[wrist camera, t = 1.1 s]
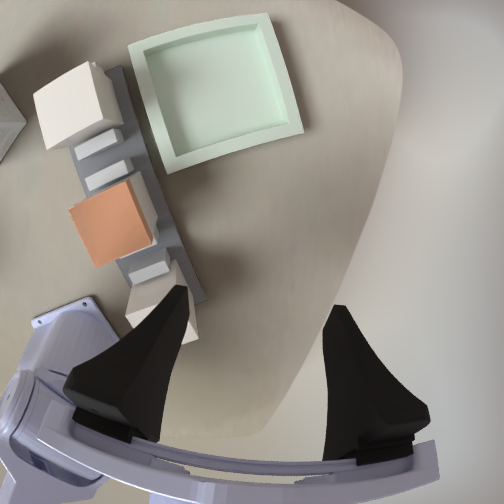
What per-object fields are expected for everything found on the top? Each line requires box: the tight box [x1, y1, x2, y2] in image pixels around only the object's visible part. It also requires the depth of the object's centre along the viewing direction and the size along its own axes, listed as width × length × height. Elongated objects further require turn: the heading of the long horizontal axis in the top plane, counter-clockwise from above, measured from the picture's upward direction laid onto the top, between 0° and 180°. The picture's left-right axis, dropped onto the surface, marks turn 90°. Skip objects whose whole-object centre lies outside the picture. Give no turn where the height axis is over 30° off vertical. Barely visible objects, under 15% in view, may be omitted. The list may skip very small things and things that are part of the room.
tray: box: [127, 13, 304, 175], centre depth 17 cm, size 11×11×2 cm
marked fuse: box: [68, 171, 158, 268], centre depth 17 cm, size 4×4×6 cm
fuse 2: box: [125, 259, 199, 345], centre depth 20 cm, size 4×4×6 cm
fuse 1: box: [33, 61, 124, 150], centre depth 13 cm, size 4×4×6 cm
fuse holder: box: [69, 62, 207, 305], centre depth 19 cm, size 6×23×3 cm, turn 15°
